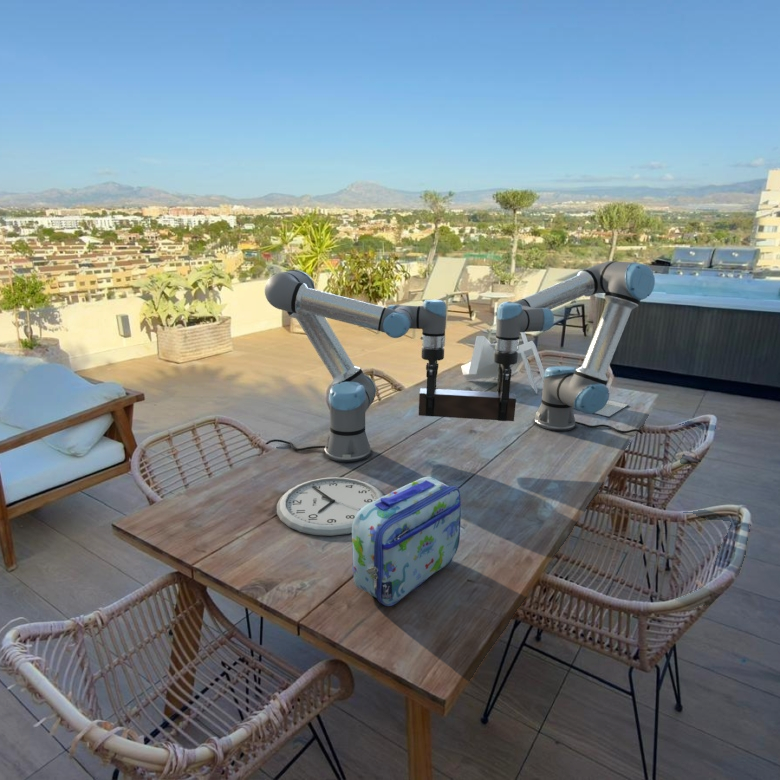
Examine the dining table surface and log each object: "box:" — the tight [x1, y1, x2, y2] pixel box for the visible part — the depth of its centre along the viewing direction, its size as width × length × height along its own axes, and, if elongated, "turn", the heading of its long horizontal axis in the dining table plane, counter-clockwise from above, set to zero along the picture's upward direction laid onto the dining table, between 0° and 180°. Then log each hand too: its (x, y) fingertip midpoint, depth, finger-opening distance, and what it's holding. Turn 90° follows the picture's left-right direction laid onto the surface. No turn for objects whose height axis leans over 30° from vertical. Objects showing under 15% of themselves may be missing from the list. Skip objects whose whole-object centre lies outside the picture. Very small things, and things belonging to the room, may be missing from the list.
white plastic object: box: [460, 332, 545, 394], centre depth 253 cm, size 37×45×31 cm
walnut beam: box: [418, 387, 517, 422], centre depth 178 cm, size 32×6×8 cm, turn 84°
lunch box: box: [351, 476, 462, 607], centre depth 111 cm, size 26×11×21 cm, turn 135°
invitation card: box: [595, 399, 629, 418], centre depth 226 cm, size 21×1×15 cm
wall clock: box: [276, 476, 385, 537], centre depth 142 cm, size 30×2×30 cm
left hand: (430, 412), depth 181 cm, fingers closed on walnut beam, 6 cm apart
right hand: (501, 416), depth 178 cm, fingers closed on walnut beam, 6 cm apart
